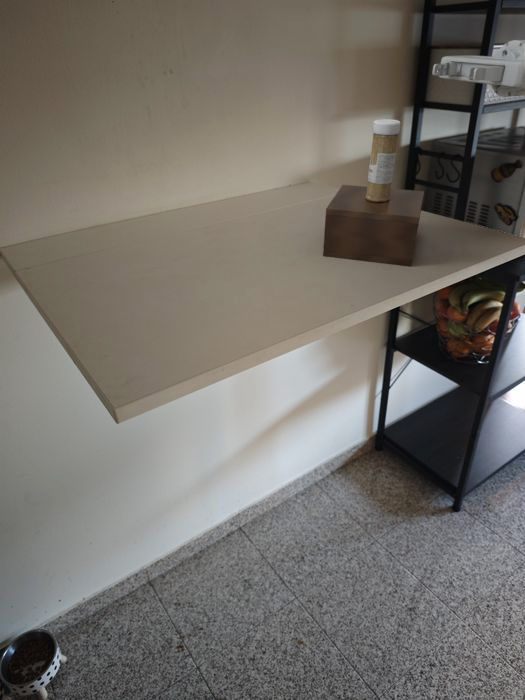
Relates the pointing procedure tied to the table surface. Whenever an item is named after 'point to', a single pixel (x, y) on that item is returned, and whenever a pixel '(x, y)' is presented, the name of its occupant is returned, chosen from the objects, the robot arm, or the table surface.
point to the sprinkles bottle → (382, 159)
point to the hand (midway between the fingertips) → (453, 71)
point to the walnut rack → (372, 226)
